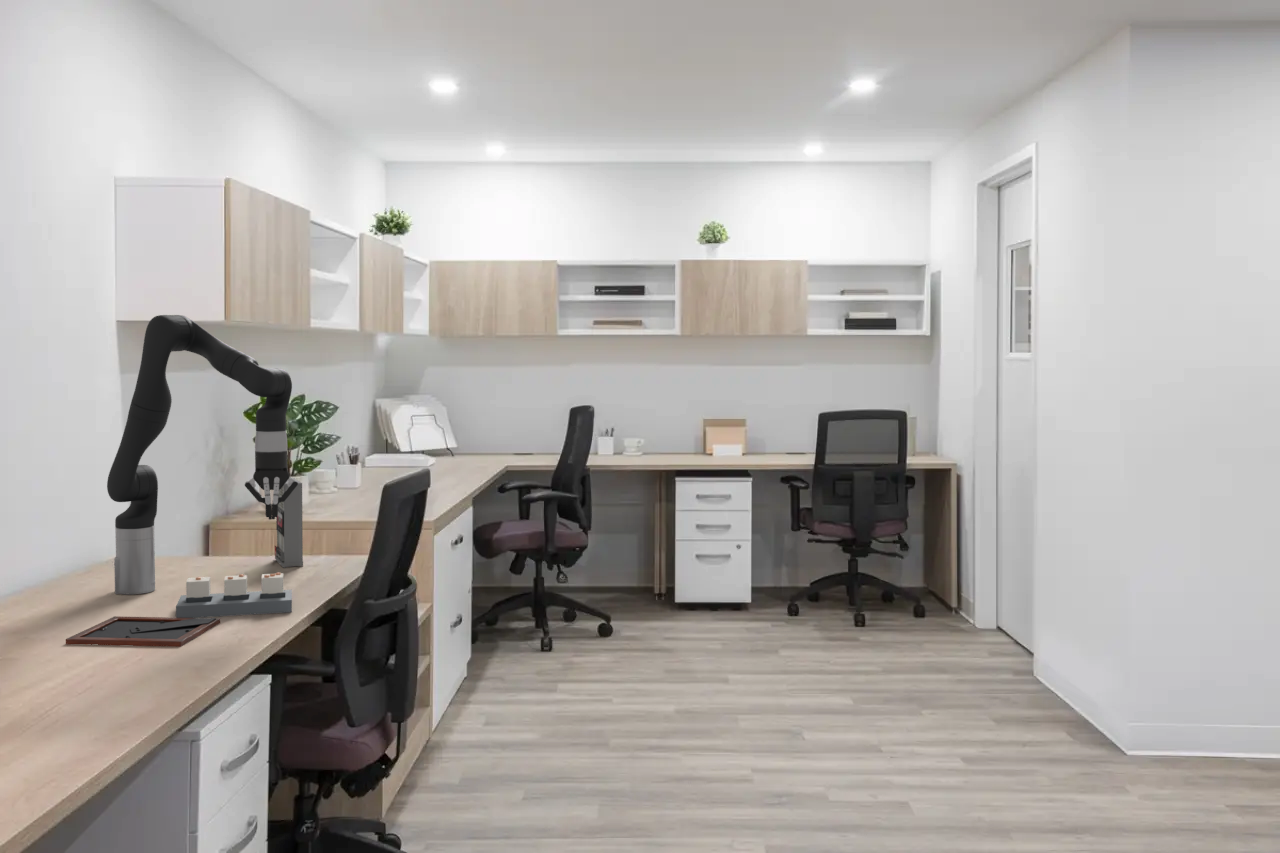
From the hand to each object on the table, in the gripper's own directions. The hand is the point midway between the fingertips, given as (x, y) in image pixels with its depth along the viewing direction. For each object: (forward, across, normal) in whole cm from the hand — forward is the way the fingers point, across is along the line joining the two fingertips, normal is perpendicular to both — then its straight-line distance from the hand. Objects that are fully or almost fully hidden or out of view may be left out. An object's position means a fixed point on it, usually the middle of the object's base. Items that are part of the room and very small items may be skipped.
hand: (271, 519), depth 258 cm
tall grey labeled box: (+22, +4, +58) cm, 62 cm away
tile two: (+18, -8, 0) cm, 20 cm away
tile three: (+18, 0, 0) cm, 18 cm away
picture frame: (+23, -26, -18) cm, 39 cm away
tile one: (+19, -17, 0) cm, 25 cm away
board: (+22, -8, 0) cm, 24 cm away
